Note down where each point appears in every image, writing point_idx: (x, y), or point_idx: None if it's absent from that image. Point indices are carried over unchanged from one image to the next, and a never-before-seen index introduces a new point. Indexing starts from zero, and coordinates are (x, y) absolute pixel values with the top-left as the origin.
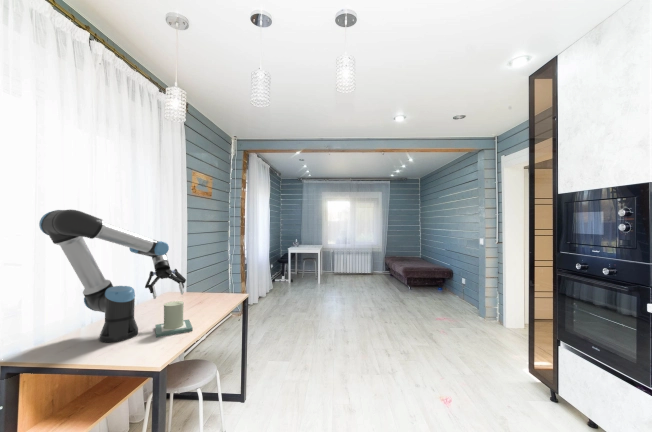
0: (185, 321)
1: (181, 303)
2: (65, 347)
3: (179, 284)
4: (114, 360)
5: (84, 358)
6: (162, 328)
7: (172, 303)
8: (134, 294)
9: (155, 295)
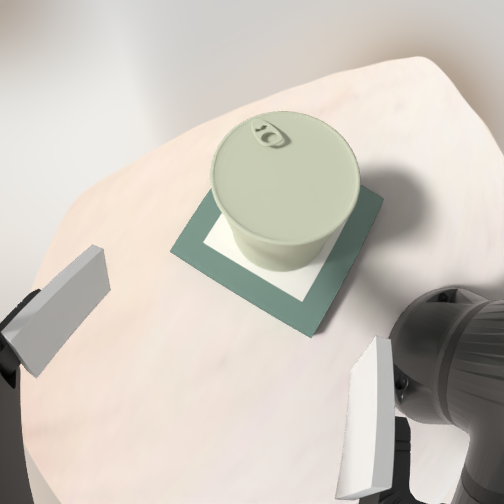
0: (201, 237)
1: (257, 119)
2: None
3: (30, 351)
4: (493, 158)
5: None
6: (330, 242)
7: (287, 186)
8: None
9: (384, 344)
